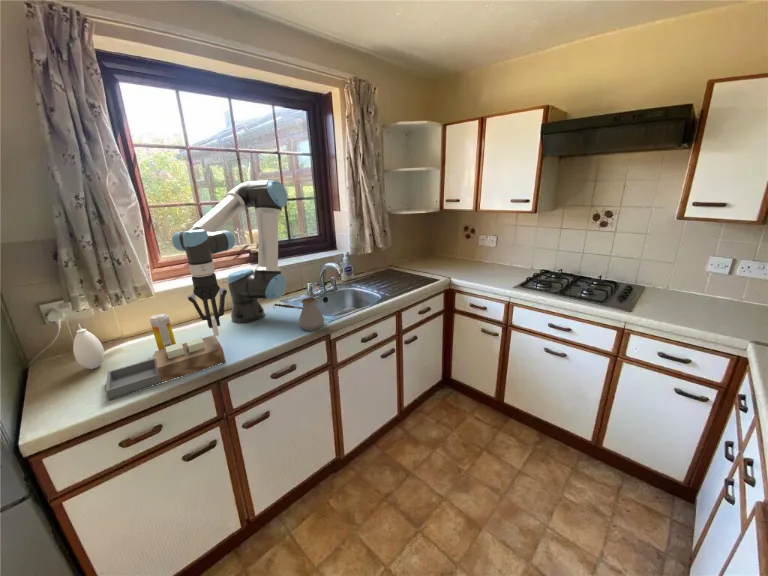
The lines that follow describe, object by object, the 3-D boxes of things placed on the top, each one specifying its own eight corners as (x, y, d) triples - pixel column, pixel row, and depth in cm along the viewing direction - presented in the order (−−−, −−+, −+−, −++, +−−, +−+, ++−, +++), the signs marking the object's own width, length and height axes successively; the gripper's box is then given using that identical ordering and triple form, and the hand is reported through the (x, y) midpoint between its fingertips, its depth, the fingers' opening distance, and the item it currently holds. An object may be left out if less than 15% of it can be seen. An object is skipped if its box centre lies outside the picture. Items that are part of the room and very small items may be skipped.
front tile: (183, 348, 120) (181, 342, 119) (184, 353, 116) (183, 347, 115) (167, 353, 117) (165, 346, 116) (168, 358, 113) (166, 352, 113)
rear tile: (202, 343, 124) (201, 337, 123) (205, 347, 120) (203, 341, 119) (187, 347, 121) (186, 341, 120) (189, 352, 117) (188, 346, 116)
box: (158, 366, 121) (156, 357, 120) (162, 383, 110) (159, 374, 109) (110, 380, 113) (107, 371, 112) (109, 400, 102) (105, 391, 101)
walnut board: (217, 348, 132) (214, 334, 130) (225, 362, 121) (222, 348, 119) (158, 366, 121) (154, 351, 119) (162, 383, 110) (157, 367, 108)
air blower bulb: (76, 375, 117) (58, 329, 111) (88, 364, 124) (71, 320, 118) (102, 371, 119) (85, 325, 113) (112, 360, 126) (97, 317, 120)
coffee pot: (318, 319, 155) (314, 289, 151) (329, 327, 146) (326, 295, 142) (273, 332, 144) (268, 300, 139) (282, 342, 135) (277, 308, 130)
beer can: (173, 345, 136) (164, 311, 131) (179, 349, 132) (170, 315, 128) (157, 351, 132) (146, 316, 127) (162, 355, 128) (152, 320, 123)
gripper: (183, 280, 110) (198, 343, 117) (225, 272, 117) (237, 332, 124) (180, 275, 115) (195, 336, 123) (220, 269, 123) (232, 326, 130)
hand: (216, 334), depth 123 cm, fingers closed
